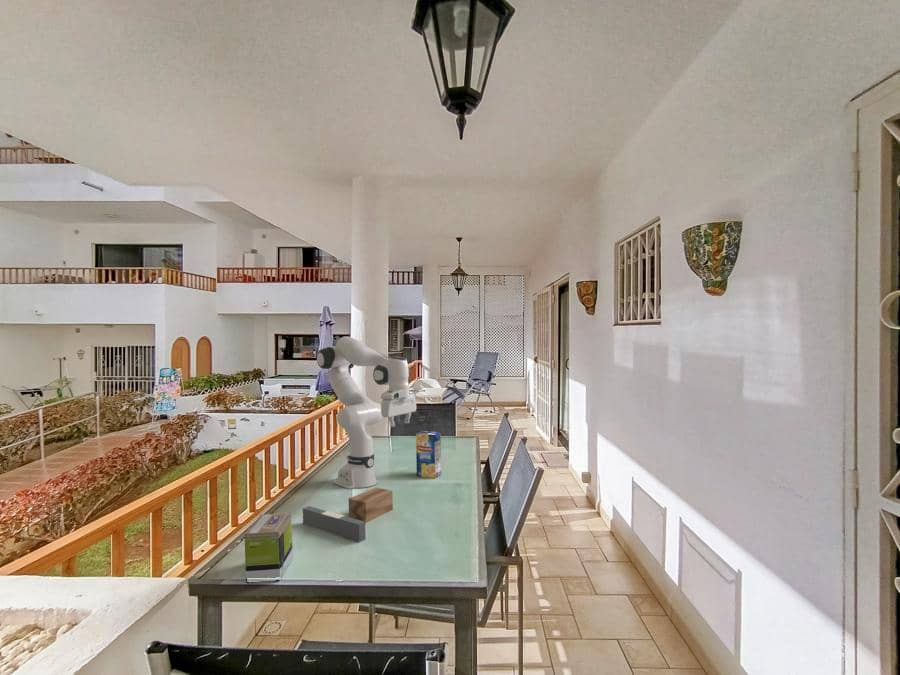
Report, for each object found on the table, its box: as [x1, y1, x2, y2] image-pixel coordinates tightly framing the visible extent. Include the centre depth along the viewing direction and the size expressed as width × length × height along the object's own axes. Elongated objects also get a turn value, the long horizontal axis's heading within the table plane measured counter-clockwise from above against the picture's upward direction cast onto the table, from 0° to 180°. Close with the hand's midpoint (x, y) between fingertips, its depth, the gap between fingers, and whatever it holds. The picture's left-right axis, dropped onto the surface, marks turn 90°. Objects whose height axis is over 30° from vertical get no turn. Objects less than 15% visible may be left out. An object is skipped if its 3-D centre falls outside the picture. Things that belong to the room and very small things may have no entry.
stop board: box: [302, 505, 367, 543], centre depth 168 cm, size 30×3×6 cm, turn 56°
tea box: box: [244, 512, 294, 579], centre depth 140 cm, size 15×10×15 cm, turn 5°
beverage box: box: [415, 430, 442, 479], centre depth 237 cm, size 7×11×22 cm, turn 63°
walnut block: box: [348, 487, 394, 524], centre depth 185 cm, size 9×16×8 cm, turn 148°
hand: (400, 424), depth 201 cm, fingers open, 8 cm apart
